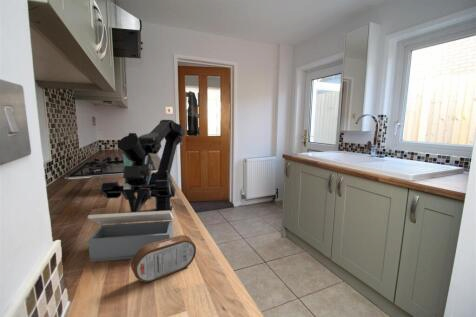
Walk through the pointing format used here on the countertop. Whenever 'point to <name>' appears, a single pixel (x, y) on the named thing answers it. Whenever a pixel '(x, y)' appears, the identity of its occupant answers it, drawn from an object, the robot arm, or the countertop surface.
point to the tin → (163, 258)
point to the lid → (131, 217)
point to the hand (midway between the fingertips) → (133, 216)
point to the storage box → (126, 239)
